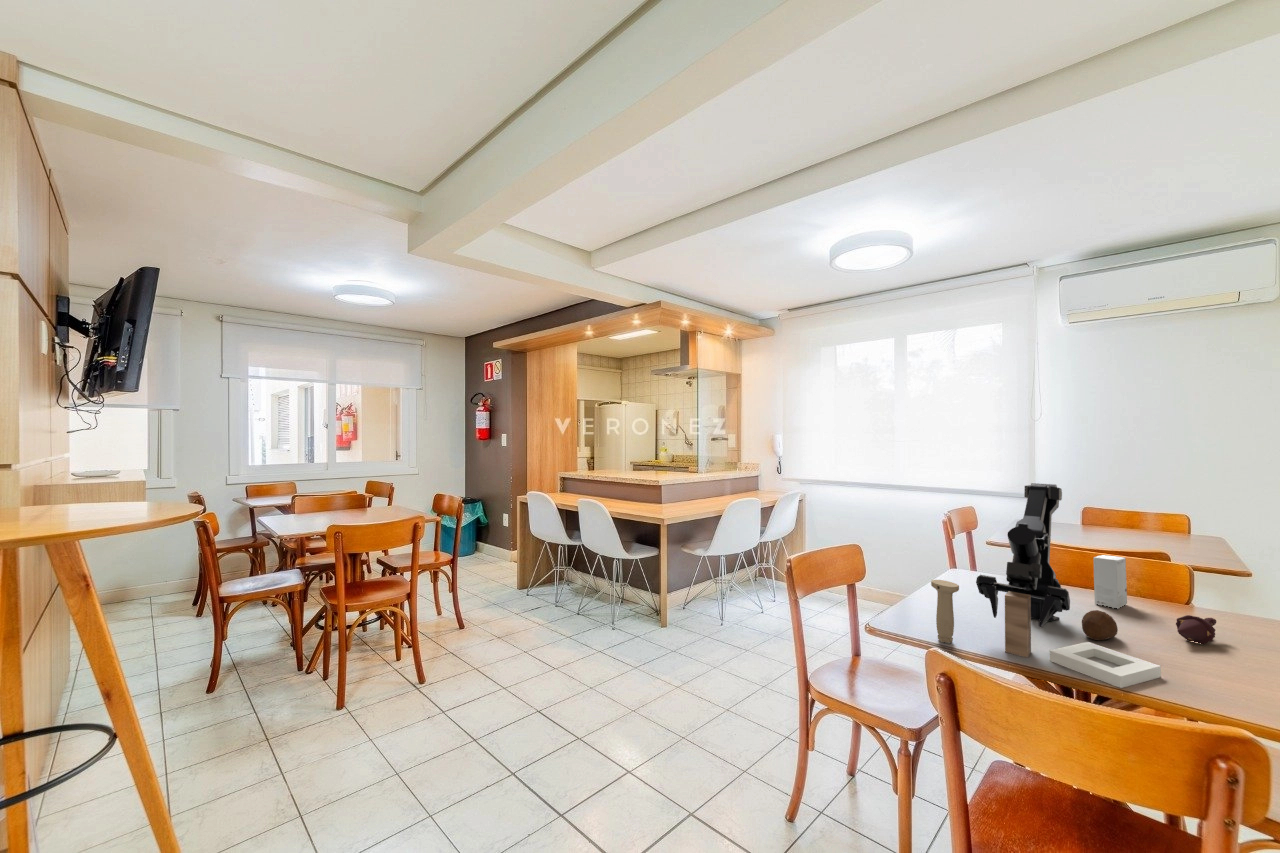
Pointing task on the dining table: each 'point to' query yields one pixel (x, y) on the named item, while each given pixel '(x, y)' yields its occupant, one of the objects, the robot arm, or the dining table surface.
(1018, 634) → the peg
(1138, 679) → the socket block
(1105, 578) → the skincare box
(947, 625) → the handle
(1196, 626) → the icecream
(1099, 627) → the potato
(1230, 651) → the dining table surface
